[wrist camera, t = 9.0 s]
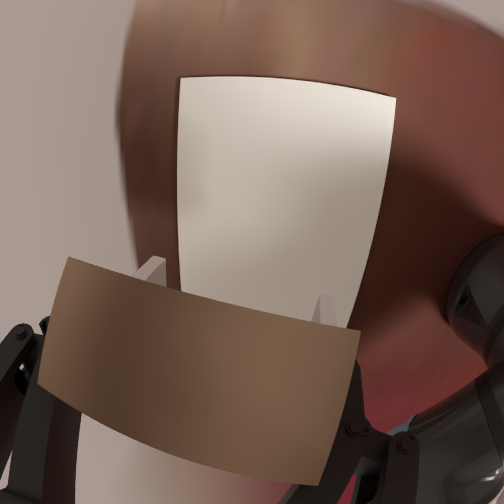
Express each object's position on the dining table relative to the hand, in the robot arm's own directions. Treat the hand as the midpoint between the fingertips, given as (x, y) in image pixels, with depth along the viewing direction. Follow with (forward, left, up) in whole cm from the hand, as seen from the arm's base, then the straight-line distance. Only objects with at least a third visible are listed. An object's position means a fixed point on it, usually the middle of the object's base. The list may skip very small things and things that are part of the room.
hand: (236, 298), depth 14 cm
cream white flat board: (+1, +1, -15) cm, 15 cm away
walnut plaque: (+4, +3, 0) cm, 5 cm away
